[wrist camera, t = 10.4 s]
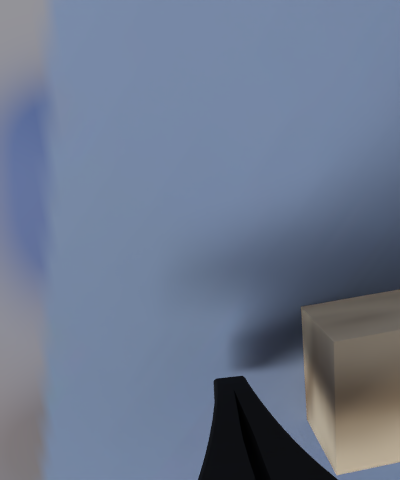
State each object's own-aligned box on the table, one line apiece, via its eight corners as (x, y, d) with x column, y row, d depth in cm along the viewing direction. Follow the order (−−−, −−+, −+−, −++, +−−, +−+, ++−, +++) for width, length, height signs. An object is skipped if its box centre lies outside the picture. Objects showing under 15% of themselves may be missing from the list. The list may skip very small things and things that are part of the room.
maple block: (424, 394, 16) (481, 445, 13) (305, 417, 15) (336, 475, 12) (433, 281, 14) (501, 311, 11) (299, 305, 14) (333, 341, 11)
